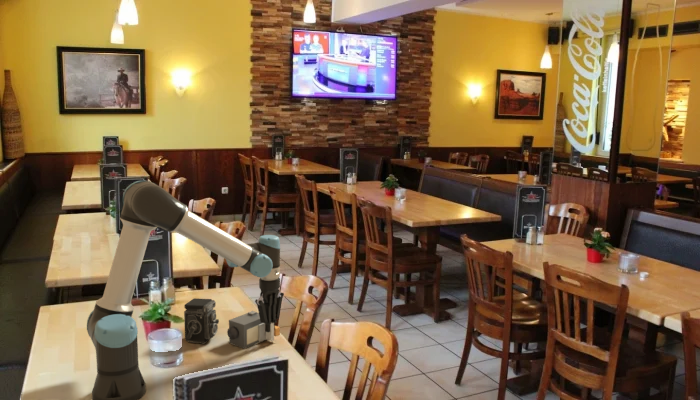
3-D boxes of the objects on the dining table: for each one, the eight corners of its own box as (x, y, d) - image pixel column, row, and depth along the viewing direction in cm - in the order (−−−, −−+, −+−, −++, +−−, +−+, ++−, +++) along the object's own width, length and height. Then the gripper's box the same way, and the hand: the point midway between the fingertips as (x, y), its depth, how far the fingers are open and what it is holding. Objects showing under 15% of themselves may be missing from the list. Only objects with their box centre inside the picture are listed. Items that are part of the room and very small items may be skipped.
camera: (210, 346, 216) (209, 307, 213) (183, 344, 218) (182, 305, 215) (221, 336, 226) (221, 298, 223) (196, 333, 228) (195, 296, 226)
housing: (241, 350, 213) (241, 324, 212) (226, 344, 218) (225, 319, 216) (268, 338, 224) (267, 313, 222) (252, 333, 229) (252, 309, 227)
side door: (267, 344, 217) (267, 327, 216) (258, 341, 219) (258, 324, 218) (279, 339, 222) (279, 322, 221) (270, 336, 225) (270, 319, 224)
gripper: (264, 283, 208) (265, 347, 212) (289, 275, 219) (289, 336, 222) (249, 279, 213) (250, 342, 216) (274, 272, 223) (274, 331, 227)
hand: (270, 339), depth 219 cm, fingers closed
